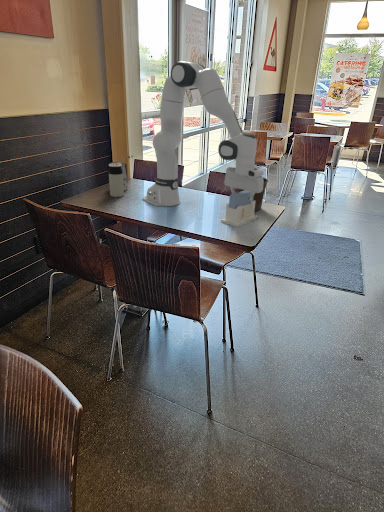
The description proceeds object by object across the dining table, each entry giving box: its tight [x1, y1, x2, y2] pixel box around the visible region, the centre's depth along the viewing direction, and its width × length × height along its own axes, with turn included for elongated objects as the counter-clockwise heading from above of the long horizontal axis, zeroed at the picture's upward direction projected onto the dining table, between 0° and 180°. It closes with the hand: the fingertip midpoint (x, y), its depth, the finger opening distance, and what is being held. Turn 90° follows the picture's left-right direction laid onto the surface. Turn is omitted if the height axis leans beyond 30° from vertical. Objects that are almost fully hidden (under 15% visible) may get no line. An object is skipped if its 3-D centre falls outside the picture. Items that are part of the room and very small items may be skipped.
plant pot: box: [238, 177, 269, 212], centre depth 188 cm, size 16×16×16 cm
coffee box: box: [110, 161, 129, 191], centre depth 214 cm, size 9×6×16 cm
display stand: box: [220, 200, 259, 228], centre depth 171 cm, size 10×18×9 cm, turn 139°
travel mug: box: [107, 163, 125, 198], centre depth 201 cm, size 8×8×18 cm
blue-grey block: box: [228, 190, 254, 209], centre depth 169 cm, size 4×16×6 cm, turn 139°
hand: (241, 198), depth 168 cm, fingers open, 8 cm apart
